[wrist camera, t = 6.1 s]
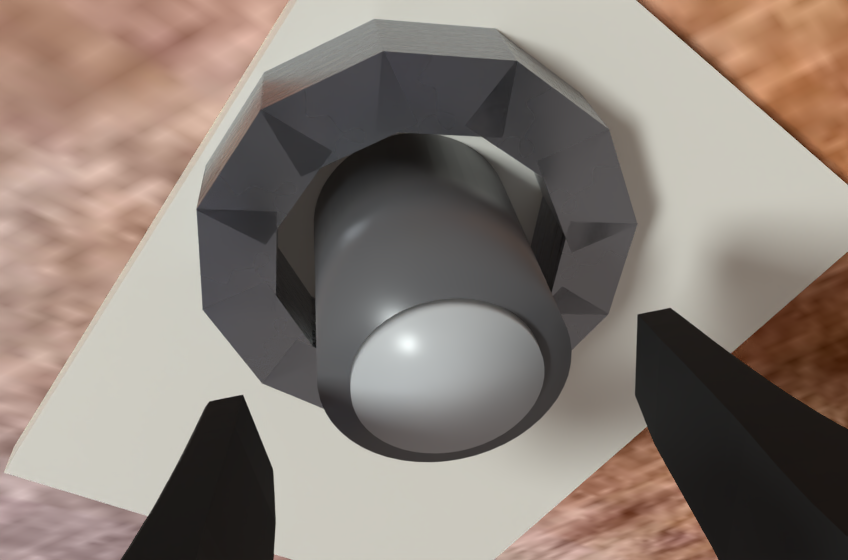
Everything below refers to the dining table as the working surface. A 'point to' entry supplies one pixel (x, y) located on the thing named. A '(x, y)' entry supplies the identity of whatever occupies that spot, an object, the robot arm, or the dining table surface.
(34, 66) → the dining table surface
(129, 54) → the dining table surface
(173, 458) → the board
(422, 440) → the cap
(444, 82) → the grey faceted ring
